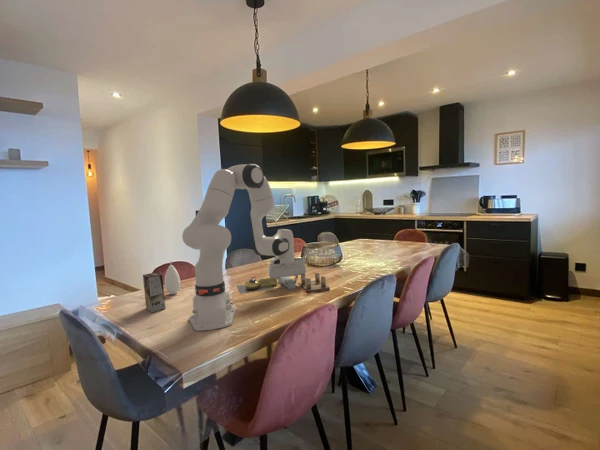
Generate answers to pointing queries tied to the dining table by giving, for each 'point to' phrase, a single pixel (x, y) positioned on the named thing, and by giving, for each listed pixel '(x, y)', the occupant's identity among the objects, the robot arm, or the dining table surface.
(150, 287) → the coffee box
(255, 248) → the robot arm
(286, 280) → the grey rectangular bar
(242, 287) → the dial base
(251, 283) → the khaki elongated piece
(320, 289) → the cradle
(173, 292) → the white teardrop candle
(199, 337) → the dining table surface
